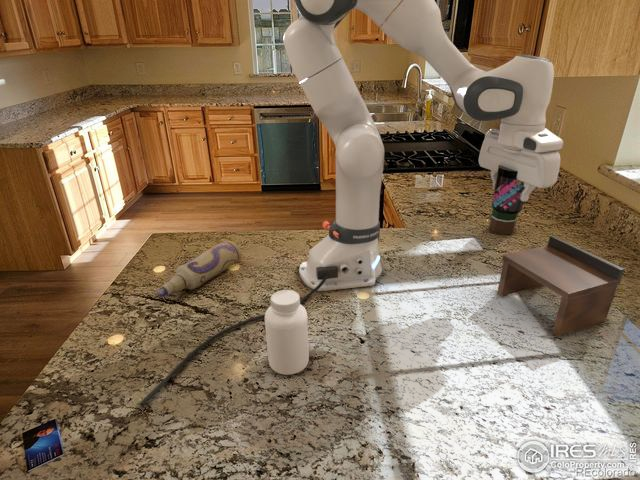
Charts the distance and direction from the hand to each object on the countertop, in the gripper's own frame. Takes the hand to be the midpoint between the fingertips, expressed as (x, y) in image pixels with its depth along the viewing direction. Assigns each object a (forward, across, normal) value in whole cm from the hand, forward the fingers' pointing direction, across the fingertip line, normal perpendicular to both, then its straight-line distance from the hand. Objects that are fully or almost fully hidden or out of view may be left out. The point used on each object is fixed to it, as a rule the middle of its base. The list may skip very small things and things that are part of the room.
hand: (509, 195), depth 99 cm
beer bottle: (+24, -24, +25) cm, 42 cm away
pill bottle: (+23, +8, -58) cm, 63 cm away
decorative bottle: (+23, -31, -70) cm, 80 cm away
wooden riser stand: (+24, +14, +4) cm, 28 cm away
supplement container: (+4, 0, 0) cm, 4 cm away
